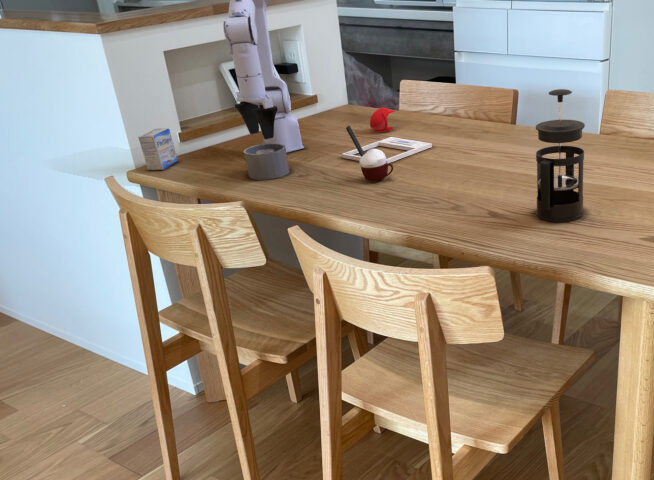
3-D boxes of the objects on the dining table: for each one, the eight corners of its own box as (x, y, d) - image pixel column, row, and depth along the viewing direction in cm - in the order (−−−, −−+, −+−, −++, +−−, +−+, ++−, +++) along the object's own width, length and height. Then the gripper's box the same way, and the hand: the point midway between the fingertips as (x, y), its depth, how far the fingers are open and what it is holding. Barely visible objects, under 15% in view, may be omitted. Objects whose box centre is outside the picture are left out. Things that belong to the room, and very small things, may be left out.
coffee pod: (267, 168, 186) (263, 148, 184) (281, 169, 185) (277, 149, 182) (256, 173, 183) (251, 153, 180) (270, 174, 181) (266, 154, 179)
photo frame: (431, 142, 194) (382, 160, 183) (431, 147, 195) (382, 165, 183) (391, 136, 202) (341, 153, 191) (391, 140, 203) (342, 157, 192)
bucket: (277, 165, 190) (272, 141, 187) (297, 172, 183) (292, 147, 180) (242, 174, 185) (236, 150, 182) (260, 182, 178) (255, 157, 175)
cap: (382, 135, 209) (379, 112, 206) (366, 132, 212) (363, 110, 209) (401, 128, 214) (398, 106, 211) (385, 126, 217) (382, 104, 214)
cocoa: (398, 178, 174) (392, 125, 168) (379, 186, 170) (372, 131, 164) (370, 172, 179) (363, 120, 173) (350, 179, 175) (342, 127, 169)
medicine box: (163, 170, 193) (153, 136, 188) (147, 170, 193) (137, 136, 189) (178, 161, 199) (169, 127, 194) (163, 161, 200) (154, 128, 195)
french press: (550, 202, 153) (550, 82, 141) (593, 208, 149) (596, 85, 137) (523, 221, 145) (520, 96, 133) (567, 228, 141) (568, 99, 129)
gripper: (219, 74, 175) (233, 134, 182) (247, 81, 165) (260, 144, 172) (247, 69, 178) (259, 128, 186) (276, 75, 169) (287, 137, 176)
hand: (261, 135), depth 179 cm, fingers open, 7 cm apart
